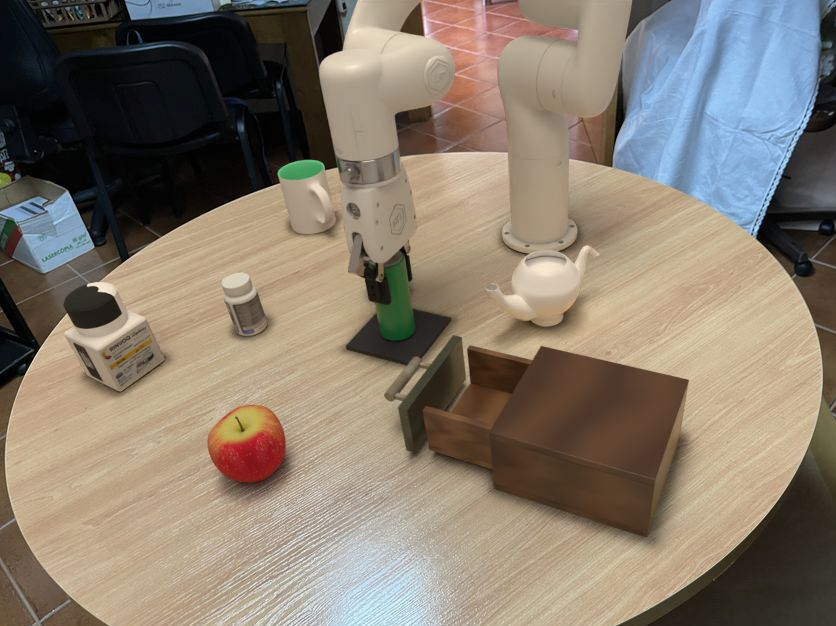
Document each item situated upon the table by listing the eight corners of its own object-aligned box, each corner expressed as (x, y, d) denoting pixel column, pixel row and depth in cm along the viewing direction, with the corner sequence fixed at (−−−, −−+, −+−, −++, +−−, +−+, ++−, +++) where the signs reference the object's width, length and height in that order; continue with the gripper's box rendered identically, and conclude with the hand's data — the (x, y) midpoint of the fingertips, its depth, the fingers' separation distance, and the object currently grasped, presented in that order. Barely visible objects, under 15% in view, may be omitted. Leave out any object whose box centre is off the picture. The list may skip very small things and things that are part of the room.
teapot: (620, 303, 100) (625, 248, 94) (511, 362, 91) (508, 305, 86) (575, 276, 106) (577, 223, 100) (470, 329, 98) (464, 273, 92)
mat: (386, 305, 104) (385, 302, 103) (451, 320, 100) (450, 317, 99) (346, 349, 96) (345, 345, 96) (414, 367, 92) (414, 363, 92)
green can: (391, 316, 100) (378, 244, 92) (421, 323, 98) (411, 250, 91) (373, 336, 97) (358, 263, 89) (404, 344, 95) (392, 270, 87)
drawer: (375, 440, 81) (365, 397, 77) (429, 369, 90) (422, 327, 86) (533, 490, 73) (531, 446, 69) (574, 407, 83) (575, 363, 78)
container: (120, 393, 93) (78, 315, 85) (86, 376, 96) (43, 300, 88) (166, 360, 98) (131, 283, 89) (132, 344, 101) (95, 270, 93)
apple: (227, 508, 76) (198, 446, 70) (217, 456, 82) (189, 395, 76) (300, 481, 78) (278, 418, 72) (285, 433, 84) (263, 371, 78)
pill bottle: (273, 320, 103) (258, 272, 98) (256, 339, 100) (240, 291, 95) (247, 315, 105) (230, 268, 99) (229, 334, 101) (211, 286, 96)
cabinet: (493, 488, 75) (488, 432, 70) (541, 400, 85) (540, 345, 80) (647, 537, 69) (655, 479, 63) (679, 436, 79) (689, 379, 73)
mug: (356, 228, 123) (345, 174, 117) (318, 246, 119) (305, 191, 113) (320, 208, 131) (308, 156, 124) (283, 224, 127) (269, 171, 120)
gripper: (357, 199, 75) (382, 332, 86) (430, 139, 86) (444, 263, 98) (301, 190, 77) (333, 320, 89) (379, 133, 89) (398, 254, 100)
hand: (391, 289), depth 93 cm, fingers closed on green can, 5 cm apart
